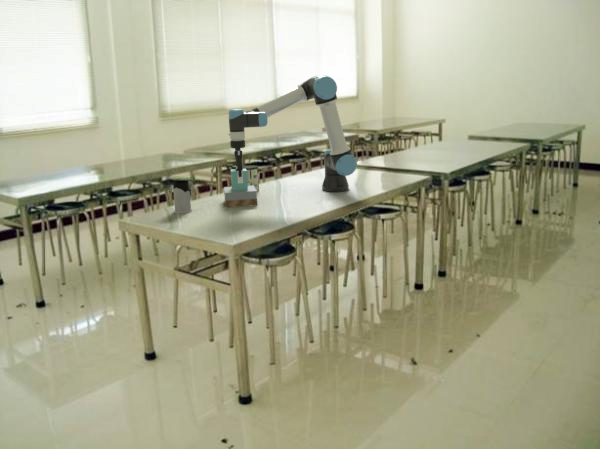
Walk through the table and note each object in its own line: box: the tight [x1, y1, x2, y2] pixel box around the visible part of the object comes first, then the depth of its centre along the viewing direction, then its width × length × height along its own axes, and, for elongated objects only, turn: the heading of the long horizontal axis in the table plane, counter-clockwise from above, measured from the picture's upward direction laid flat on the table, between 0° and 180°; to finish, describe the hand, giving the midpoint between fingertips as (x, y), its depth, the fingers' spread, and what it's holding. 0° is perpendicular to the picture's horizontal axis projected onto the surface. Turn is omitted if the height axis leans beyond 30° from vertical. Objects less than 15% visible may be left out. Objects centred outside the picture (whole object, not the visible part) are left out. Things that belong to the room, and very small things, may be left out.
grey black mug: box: [172, 179, 194, 214], centre depth 295 cm, size 9×14×15 cm, turn 156°
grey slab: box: [223, 185, 258, 201], centre depth 308 cm, size 16×16×4 cm
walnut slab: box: [224, 198, 258, 208], centre depth 309 cm, size 16×16×4 cm
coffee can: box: [242, 164, 260, 192], centre depth 340 cm, size 10×10×14 cm
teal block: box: [230, 168, 248, 191], centre depth 306 cm, size 8×8×10 cm
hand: (239, 180), depth 306 cm, fingers open, 13 cm apart
